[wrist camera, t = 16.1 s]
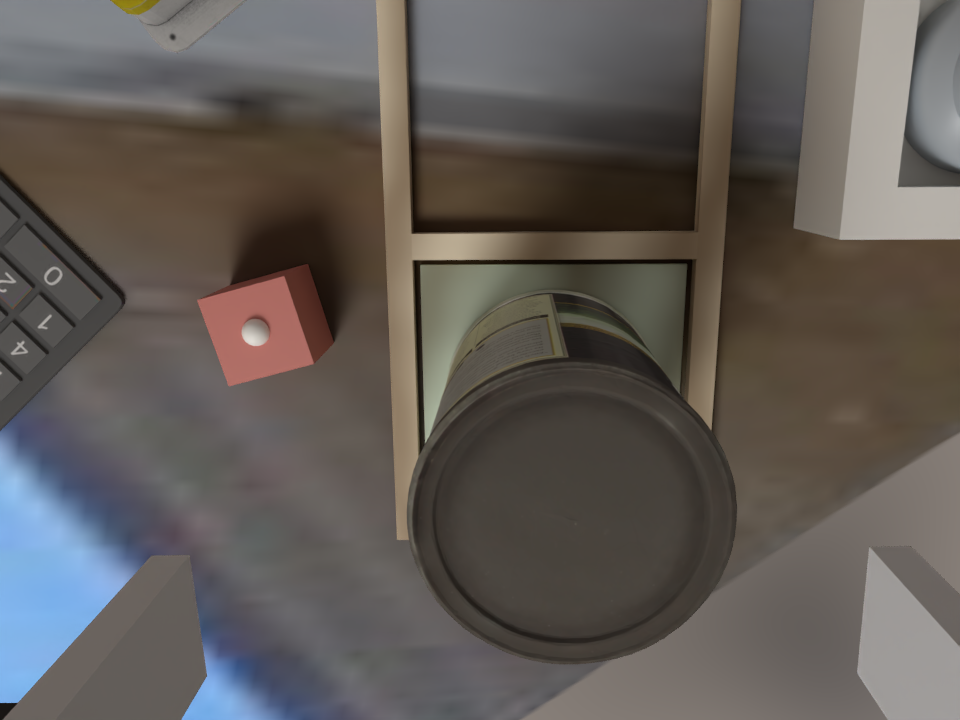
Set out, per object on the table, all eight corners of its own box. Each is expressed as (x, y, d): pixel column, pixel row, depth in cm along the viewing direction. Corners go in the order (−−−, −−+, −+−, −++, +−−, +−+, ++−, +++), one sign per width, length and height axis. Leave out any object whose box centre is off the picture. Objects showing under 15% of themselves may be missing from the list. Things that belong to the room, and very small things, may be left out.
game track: (743, -115, 32) (749, -122, 32) (699, 535, 40) (703, 543, 39) (375, -107, 33) (372, -113, 32) (399, 532, 41) (397, 539, 40)
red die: (307, 263, 37) (280, 278, 33) (334, 342, 38) (310, 367, 34) (229, 285, 38) (191, 302, 33) (257, 363, 39) (224, 390, 34)
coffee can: (660, 284, 36) (748, 360, 23) (653, 489, 39) (729, 667, 25) (440, 288, 37) (397, 365, 23) (447, 490, 40) (413, 666, 26)
